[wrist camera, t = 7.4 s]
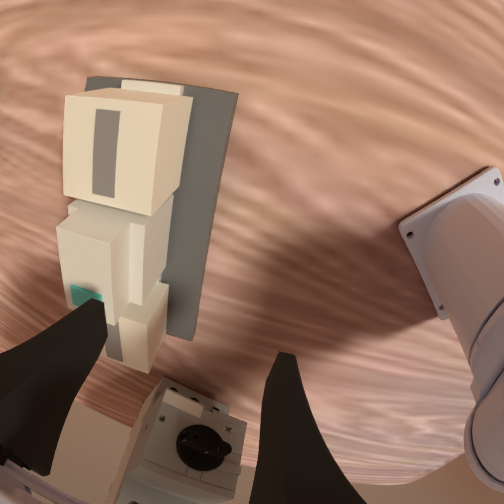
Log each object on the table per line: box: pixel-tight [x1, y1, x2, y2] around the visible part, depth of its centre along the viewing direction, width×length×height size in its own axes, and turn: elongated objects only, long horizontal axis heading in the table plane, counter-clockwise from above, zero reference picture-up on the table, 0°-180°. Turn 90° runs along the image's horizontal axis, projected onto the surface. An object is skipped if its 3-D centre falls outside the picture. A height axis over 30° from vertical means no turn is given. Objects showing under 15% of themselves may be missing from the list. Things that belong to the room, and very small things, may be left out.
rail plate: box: [63, 76, 239, 374], centre depth 18 cm, size 18×9×6 cm, turn 168°
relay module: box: [56, 194, 174, 326], centre depth 16 cm, size 5×4×6 cm
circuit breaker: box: [105, 376, 247, 504], centre depth 24 cm, size 8×14×15 cm, turn 149°
